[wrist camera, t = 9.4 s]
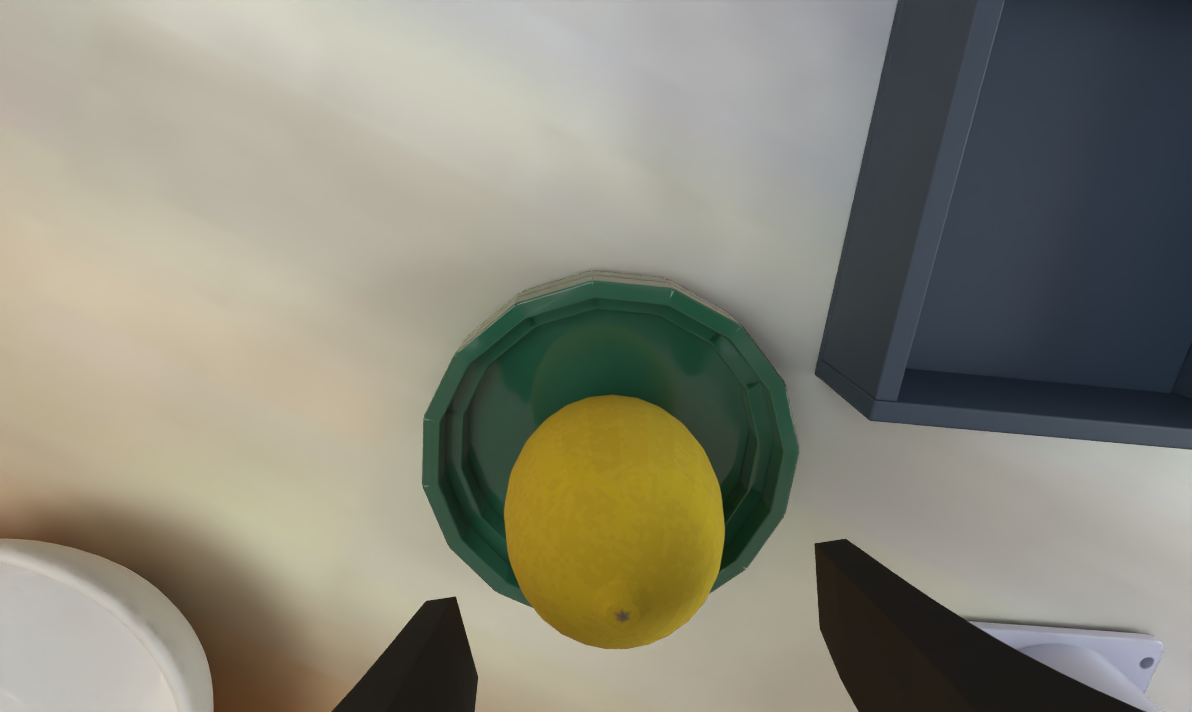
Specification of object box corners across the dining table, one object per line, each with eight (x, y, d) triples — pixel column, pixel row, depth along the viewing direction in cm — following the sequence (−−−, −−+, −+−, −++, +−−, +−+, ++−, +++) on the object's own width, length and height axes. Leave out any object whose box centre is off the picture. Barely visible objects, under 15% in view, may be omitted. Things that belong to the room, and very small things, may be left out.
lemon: (717, 390, 19) (812, 539, 11) (655, 534, 20) (700, 755, 12) (551, 336, 18) (528, 454, 10) (499, 489, 19) (446, 691, 12)
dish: (741, 588, 21) (759, 633, 19) (435, 565, 21) (419, 609, 19) (804, 289, 18) (833, 304, 16) (444, 253, 18) (425, 263, 15)
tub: (1171, 407, 20) (1306, 460, 16) (814, 374, 19) (869, 421, 15) (1344, -7, 16) (1568, -60, 12) (912, -64, 15) (1013, -138, 12)
